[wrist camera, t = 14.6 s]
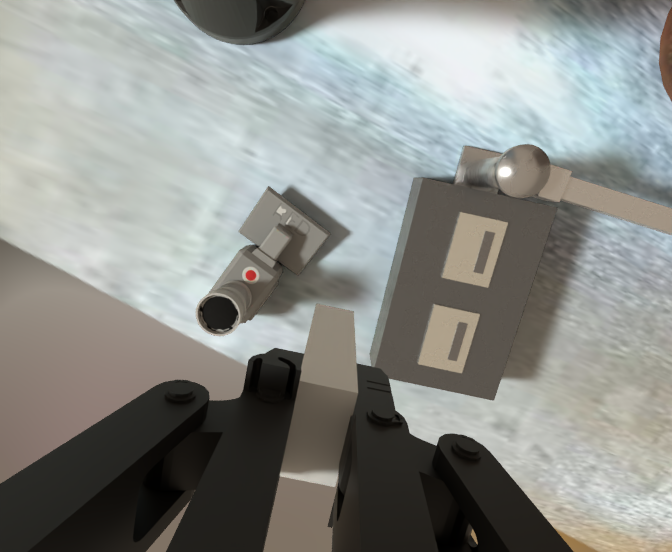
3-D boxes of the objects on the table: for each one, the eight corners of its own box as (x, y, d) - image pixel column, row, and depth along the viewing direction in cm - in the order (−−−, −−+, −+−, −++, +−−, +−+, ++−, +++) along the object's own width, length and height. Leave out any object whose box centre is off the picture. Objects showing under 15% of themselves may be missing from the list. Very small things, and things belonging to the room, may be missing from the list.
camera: (160, 314, 41) (251, 186, 38) (200, 285, 52) (271, 186, 50) (236, 366, 42) (328, 245, 39) (258, 327, 53) (331, 231, 51)
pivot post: (463, 146, 48) (504, 134, 36) (506, 155, 48) (562, 147, 36) (450, 190, 49) (486, 194, 37) (493, 200, 49) (543, 207, 37)
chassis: (413, 177, 49) (423, 177, 43) (532, 204, 49) (559, 207, 43) (369, 353, 54) (372, 376, 47) (477, 376, 54) (495, 402, 48)
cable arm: (524, 196, 41) (537, 197, 38) (537, 163, 40) (551, 162, 37) (748, 266, 42) (776, 272, 39) (765, 235, 41) (795, 239, 38)
